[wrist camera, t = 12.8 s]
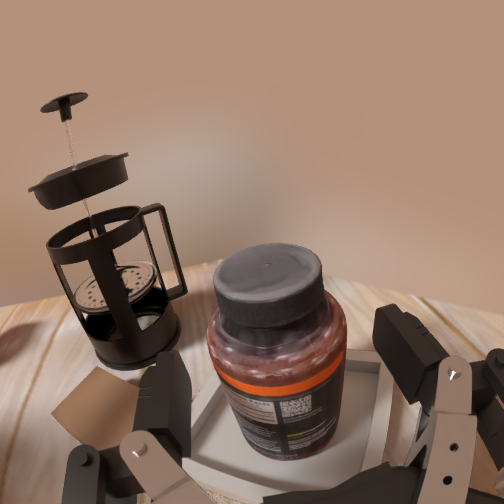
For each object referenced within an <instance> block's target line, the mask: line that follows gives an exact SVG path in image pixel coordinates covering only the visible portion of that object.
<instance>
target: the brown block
mask: <svg viewBox="0 0 504 504" xmlns="http://www.w3.org/2000/svg"><path fill="white" fill-rule="evenodd" d="M139 389H140V388H139V387H136V386H134V385H132V384H130V383H128V382H126V381H124V380H122V379H120V378H118V377H116V376H114V375H112V374H111V373H109V372H107V371H105V370H103V369H101V368H99V367H98V366H97V367H96V368H95V369H94V370H93V371H92V372H91V373H90V374H89V375H88V376H87V377H86V378H85V379H84V380H83V381H82V382H81V383H80V384H79V385H78V386H77V387H76V388H75V389H74V390H73V391H72V392H71V393H70V394H69V395H68V396H67V397H66V398H65V399H64V400H63V401H62V402H61V403H60V404H59V405H58V406H57V408H56V409H55V410H54V411H53V412H52V413H51V414H52V415H53V417H54V418H55V419H56V420H57V421H58V422H59V423H60V424H61V425H62V426H63V427H64V428H65V429H66V430H67V431H68V432H69V433H70V434H71V435H73V436H74V437H75V438H76V439H77V440H78V441H80V442H81V443H82V444H83V445H84V444H86V445H91V446H93V447H94V448H95V449H97V450H98V451H100V450H104V449H107V448H111V447H115V446H118V445H120V444H121V441H122V440H123V438H124V437H125V436H126V435H128V434H129V433H131V432H132V429H133V423H134V417H135V411H136V405H137V400H138V398H139V397H138V394H139Z"/></svg>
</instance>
